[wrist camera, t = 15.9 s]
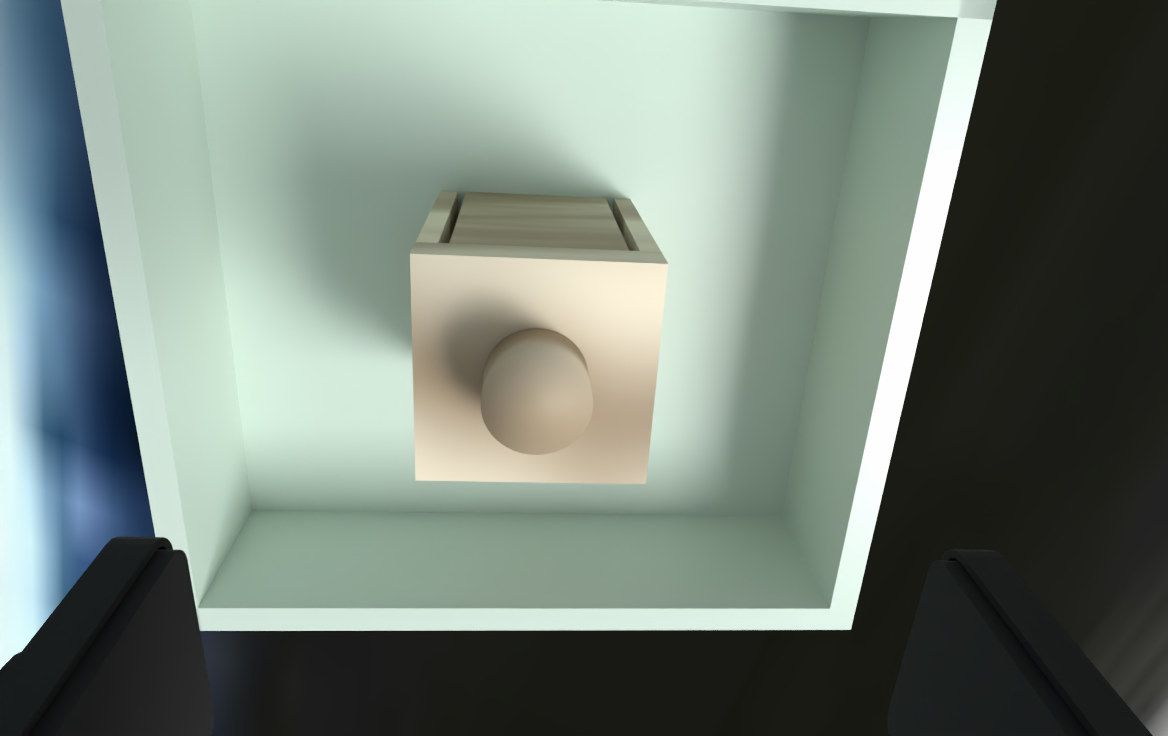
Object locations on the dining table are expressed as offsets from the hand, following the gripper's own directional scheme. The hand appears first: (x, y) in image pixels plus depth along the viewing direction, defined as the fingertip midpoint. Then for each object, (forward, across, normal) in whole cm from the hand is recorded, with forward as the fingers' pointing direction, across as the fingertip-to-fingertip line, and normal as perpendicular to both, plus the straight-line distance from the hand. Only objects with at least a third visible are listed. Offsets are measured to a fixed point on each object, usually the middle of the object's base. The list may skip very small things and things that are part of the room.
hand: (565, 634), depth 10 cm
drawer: (+16, 0, +1) cm, 16 cm away
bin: (+17, 0, +1) cm, 17 cm away
